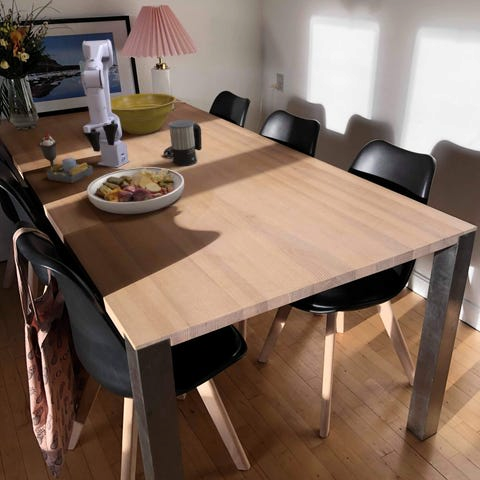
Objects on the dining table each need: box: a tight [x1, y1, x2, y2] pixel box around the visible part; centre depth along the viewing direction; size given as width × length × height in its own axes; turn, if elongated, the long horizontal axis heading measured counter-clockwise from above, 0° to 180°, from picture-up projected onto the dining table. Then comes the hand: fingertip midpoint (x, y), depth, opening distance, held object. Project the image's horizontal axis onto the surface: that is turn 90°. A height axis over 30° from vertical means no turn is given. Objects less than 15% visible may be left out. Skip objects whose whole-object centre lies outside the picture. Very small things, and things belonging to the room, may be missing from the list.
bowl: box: [86, 166, 185, 215], centre depth 160 cm, size 30×30×8 cm
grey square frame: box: [46, 161, 94, 184], centre depth 180 cm, size 11×11×4 cm
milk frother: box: [163, 119, 202, 167], centre depth 189 cm, size 14×16×15 cm
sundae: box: [37, 130, 58, 173], centre depth 184 cm, size 7×7×15 cm
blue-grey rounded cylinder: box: [61, 157, 77, 174], centre depth 179 cm, size 4×4×6 cm
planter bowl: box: [110, 92, 177, 135], centre depth 227 cm, size 32×32×13 cm
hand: (104, 148), depth 174 cm, fingers open, 7 cm apart
